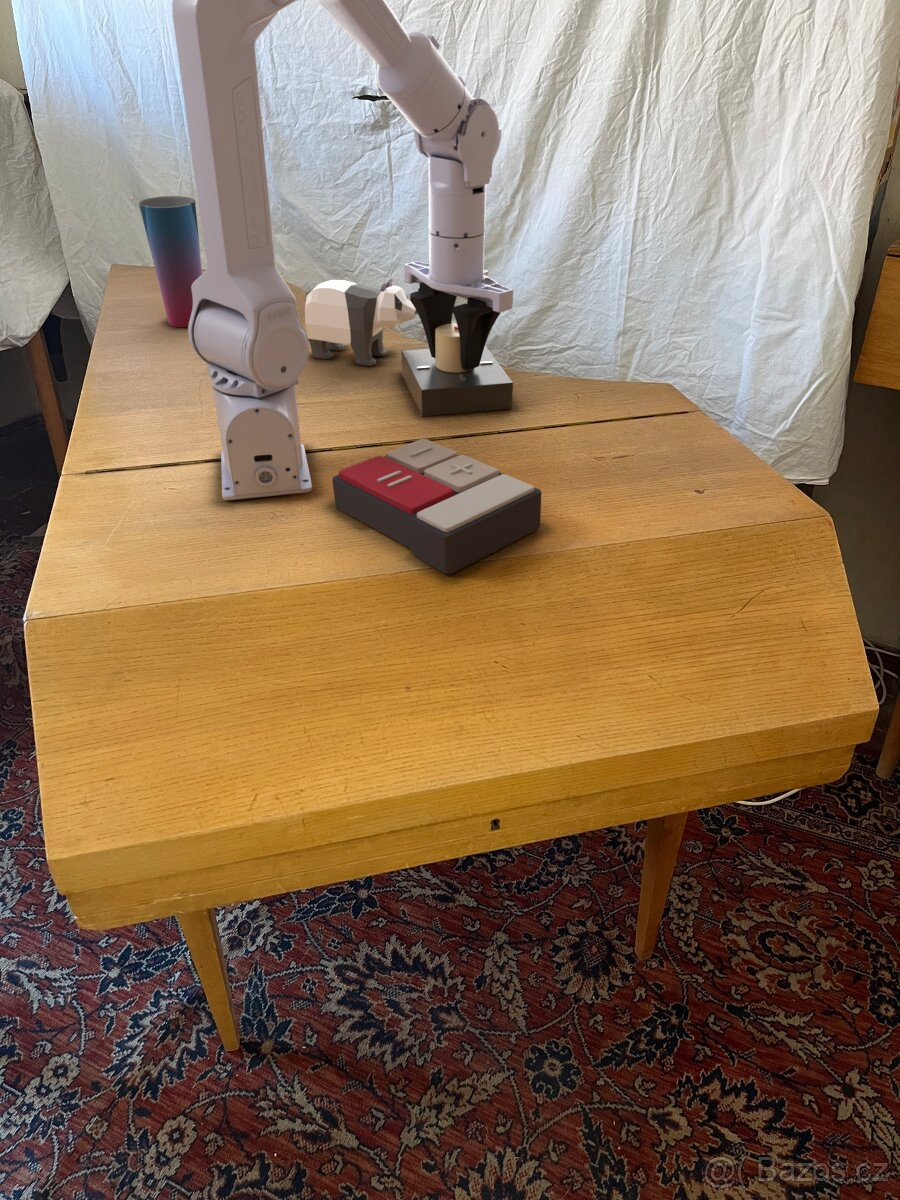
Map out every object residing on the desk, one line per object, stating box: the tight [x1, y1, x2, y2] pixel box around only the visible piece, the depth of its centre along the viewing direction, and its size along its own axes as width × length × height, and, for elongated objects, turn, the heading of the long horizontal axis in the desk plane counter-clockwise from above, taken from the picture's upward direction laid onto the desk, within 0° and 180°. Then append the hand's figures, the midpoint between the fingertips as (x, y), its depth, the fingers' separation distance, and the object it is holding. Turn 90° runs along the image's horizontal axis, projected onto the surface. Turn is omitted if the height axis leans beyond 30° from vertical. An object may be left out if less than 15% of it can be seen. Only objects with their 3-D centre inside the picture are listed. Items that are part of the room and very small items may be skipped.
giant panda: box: [304, 278, 418, 367], centre depth 103 cm, size 15×6×10 cm, turn 70°
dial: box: [435, 322, 471, 373], centre depth 94 cm, size 4×4×4 cm
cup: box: [138, 195, 203, 328], centre depth 112 cm, size 7×7×15 cm
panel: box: [401, 345, 514, 417], centre depth 96 cm, size 12×10×3 cm
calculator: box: [331, 438, 542, 575], centre depth 73 cm, size 11×4×15 cm
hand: (455, 361), depth 95 cm, fingers closed on dial, 4 cm apart
